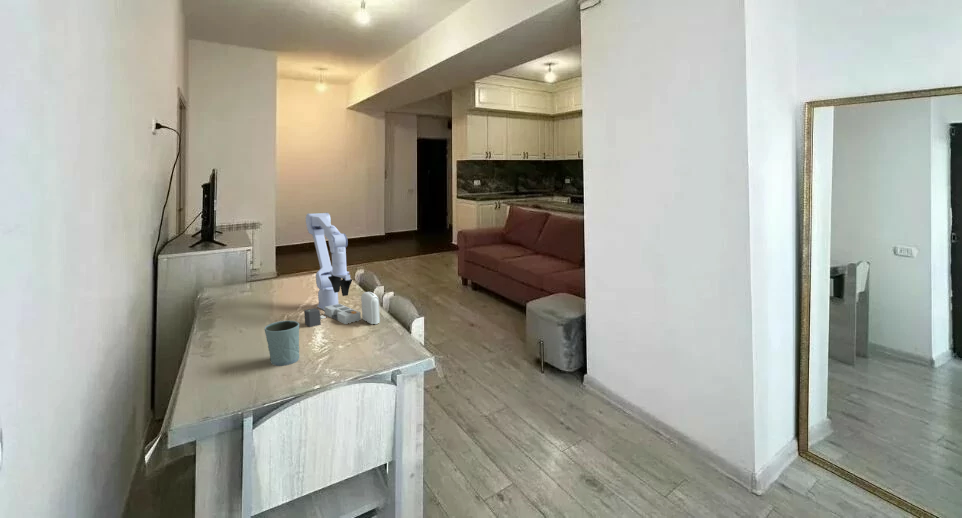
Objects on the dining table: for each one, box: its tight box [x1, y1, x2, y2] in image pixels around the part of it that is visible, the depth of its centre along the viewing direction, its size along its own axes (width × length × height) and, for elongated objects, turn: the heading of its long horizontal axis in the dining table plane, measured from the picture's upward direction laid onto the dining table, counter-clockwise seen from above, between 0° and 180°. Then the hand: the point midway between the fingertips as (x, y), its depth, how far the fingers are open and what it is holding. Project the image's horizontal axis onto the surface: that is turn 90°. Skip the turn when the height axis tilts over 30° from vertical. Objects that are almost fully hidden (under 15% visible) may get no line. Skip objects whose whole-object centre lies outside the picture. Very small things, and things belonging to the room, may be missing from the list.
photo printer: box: [360, 291, 381, 325], centre depth 181 cm, size 10×4×12 cm, turn 40°
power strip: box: [324, 303, 362, 325], centre depth 186 cm, size 18×7×4 cm, turn 45°
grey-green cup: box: [264, 320, 300, 367], centre depth 142 cm, size 10×10×12 cm
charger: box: [303, 307, 327, 328], centre depth 178 cm, size 4×7×6 cm, turn 135°
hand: (340, 293), depth 187 cm, fingers open, 7 cm apart
